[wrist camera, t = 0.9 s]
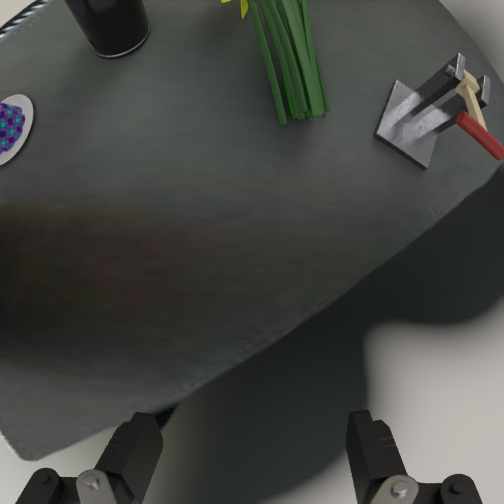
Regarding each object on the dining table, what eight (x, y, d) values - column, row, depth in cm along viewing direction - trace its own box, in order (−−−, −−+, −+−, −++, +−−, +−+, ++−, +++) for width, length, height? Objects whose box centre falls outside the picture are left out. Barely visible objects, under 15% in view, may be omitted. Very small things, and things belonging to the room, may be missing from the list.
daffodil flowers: (218, 136, 38) (183, -59, 29) (296, 129, 47) (255, -42, 38) (325, 104, 25) (252, -121, 16) (393, 111, 34) (326, -85, 25)
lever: (493, 166, 21) (510, 151, 19) (452, 129, 21) (469, 112, 19) (474, 99, 27) (485, 87, 25) (440, 71, 27) (451, 58, 25)
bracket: (423, 170, 40) (497, 137, 24) (372, 136, 39) (436, 84, 23) (439, 115, 40) (502, 74, 24) (393, 83, 40) (447, 27, 24)
